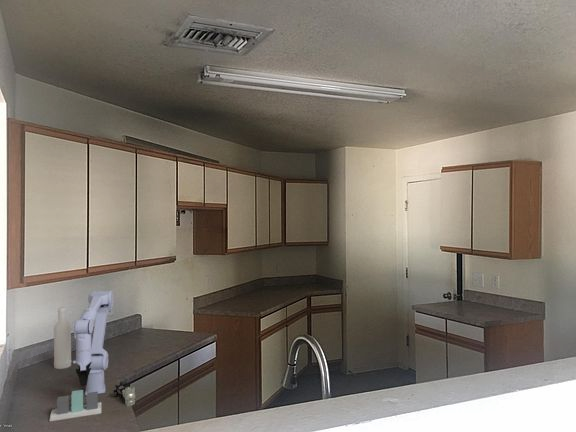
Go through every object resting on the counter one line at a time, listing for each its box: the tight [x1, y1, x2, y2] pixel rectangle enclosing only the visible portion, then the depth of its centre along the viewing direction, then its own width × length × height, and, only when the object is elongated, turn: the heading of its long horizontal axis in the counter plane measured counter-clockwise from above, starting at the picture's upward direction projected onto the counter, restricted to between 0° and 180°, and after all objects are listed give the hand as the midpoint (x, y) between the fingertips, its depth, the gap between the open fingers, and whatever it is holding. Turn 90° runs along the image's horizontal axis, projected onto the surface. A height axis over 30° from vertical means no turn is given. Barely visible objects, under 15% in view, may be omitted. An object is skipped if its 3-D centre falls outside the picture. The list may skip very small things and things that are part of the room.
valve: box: [112, 381, 136, 407], centre depth 190 cm, size 7×7×12 cm
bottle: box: [53, 306, 72, 370], centre depth 232 cm, size 8×8×30 cm
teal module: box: [70, 389, 84, 412], centre depth 179 cm, size 4×4×6 cm
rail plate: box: [49, 392, 102, 422], centre depth 179 cm, size 9×18×6 cm, turn 112°
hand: (84, 382), depth 186 cm, fingers open, 7 cm apart
